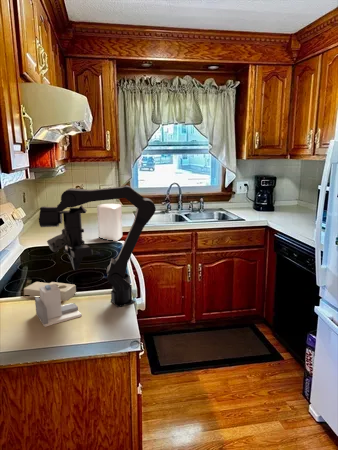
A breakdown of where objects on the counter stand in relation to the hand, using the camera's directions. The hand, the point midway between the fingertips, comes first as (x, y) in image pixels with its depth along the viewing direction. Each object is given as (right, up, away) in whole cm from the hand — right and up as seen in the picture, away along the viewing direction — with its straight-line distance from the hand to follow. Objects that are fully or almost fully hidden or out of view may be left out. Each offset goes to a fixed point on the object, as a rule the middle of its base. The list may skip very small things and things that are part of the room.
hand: (75, 270), depth 116 cm
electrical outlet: (-13, -11, +12) cm, 21 cm away
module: (-6, -15, -6) cm, 17 cm away
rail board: (-4, -14, -5) cm, 16 cm away
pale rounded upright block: (-5, +7, +94) cm, 94 cm away
